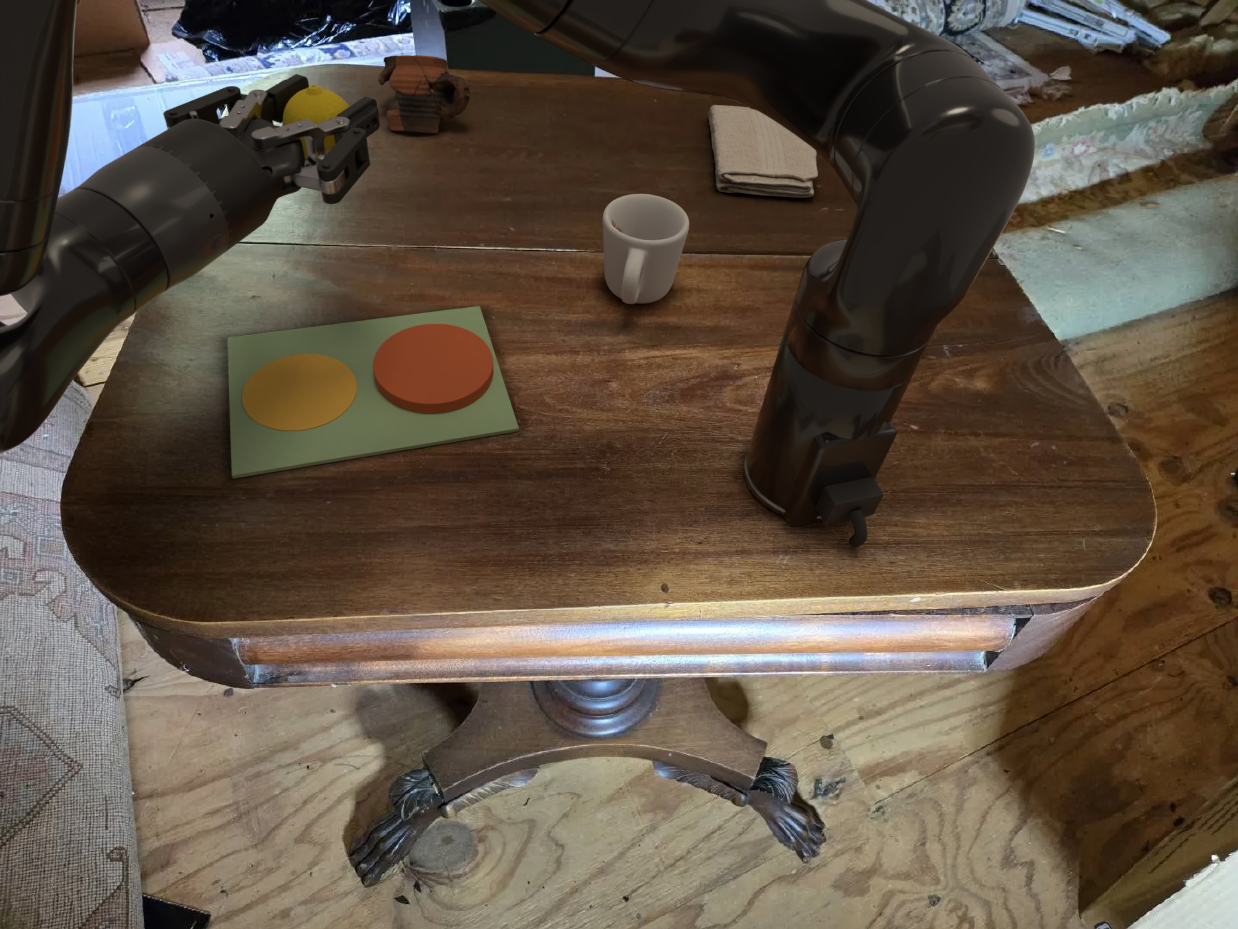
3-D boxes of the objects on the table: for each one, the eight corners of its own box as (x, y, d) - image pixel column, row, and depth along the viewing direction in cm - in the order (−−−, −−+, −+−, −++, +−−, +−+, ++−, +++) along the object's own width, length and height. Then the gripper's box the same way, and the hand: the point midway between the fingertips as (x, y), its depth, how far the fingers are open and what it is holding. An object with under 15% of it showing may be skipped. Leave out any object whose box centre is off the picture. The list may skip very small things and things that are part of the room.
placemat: (518, 431, 70) (518, 418, 69) (232, 478, 64) (227, 465, 63) (479, 309, 80) (479, 295, 78) (228, 340, 74) (223, 326, 73)
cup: (665, 339, 79) (677, 268, 73) (582, 322, 80) (587, 250, 74) (683, 271, 86) (695, 201, 80) (606, 256, 87) (612, 186, 81)
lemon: (374, 201, 66) (361, 100, 60) (299, 211, 64) (278, 108, 58) (359, 164, 69) (345, 65, 63) (288, 172, 67) (266, 71, 61)
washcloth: (715, 196, 96) (720, 171, 93) (704, 118, 108) (708, 94, 105) (818, 204, 97) (826, 179, 94) (796, 125, 108) (802, 102, 106)
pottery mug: (364, 132, 99) (358, 53, 96) (412, 136, 107) (408, 64, 105) (452, 132, 95) (449, 50, 92) (495, 136, 103) (493, 61, 101)
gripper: (256, 186, 49) (418, 74, 59) (59, 116, 51) (248, 21, 62) (282, 292, 54) (426, 172, 65) (104, 223, 57) (270, 119, 68)
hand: (338, 98), depth 63 cm, fingers closed on lemon, 5 cm apart
